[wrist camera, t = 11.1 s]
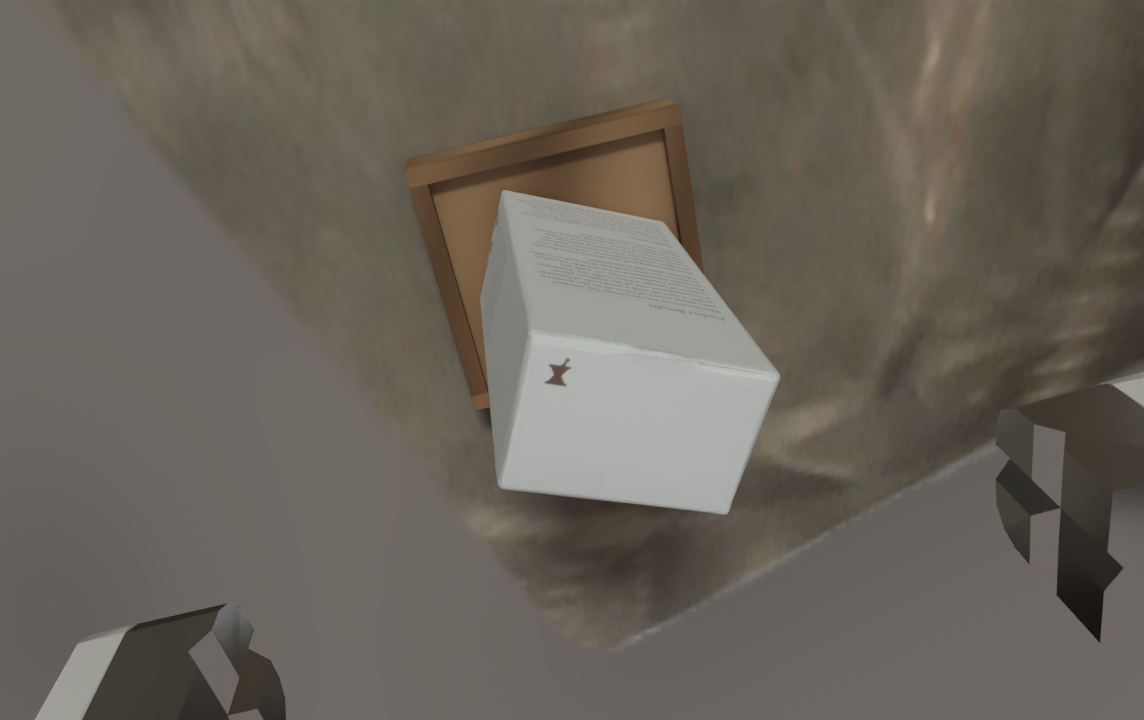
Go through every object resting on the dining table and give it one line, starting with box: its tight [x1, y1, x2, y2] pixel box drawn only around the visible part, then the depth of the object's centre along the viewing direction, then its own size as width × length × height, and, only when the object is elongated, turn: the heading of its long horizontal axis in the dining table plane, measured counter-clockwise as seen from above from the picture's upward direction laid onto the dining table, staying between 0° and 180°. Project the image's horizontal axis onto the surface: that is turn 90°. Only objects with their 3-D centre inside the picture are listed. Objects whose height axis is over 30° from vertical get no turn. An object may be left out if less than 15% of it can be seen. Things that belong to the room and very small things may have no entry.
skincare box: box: [480, 190, 780, 515], centre depth 25 cm, size 6×4×12 cm
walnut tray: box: [404, 98, 704, 410], centre depth 31 cm, size 9×9×2 cm
